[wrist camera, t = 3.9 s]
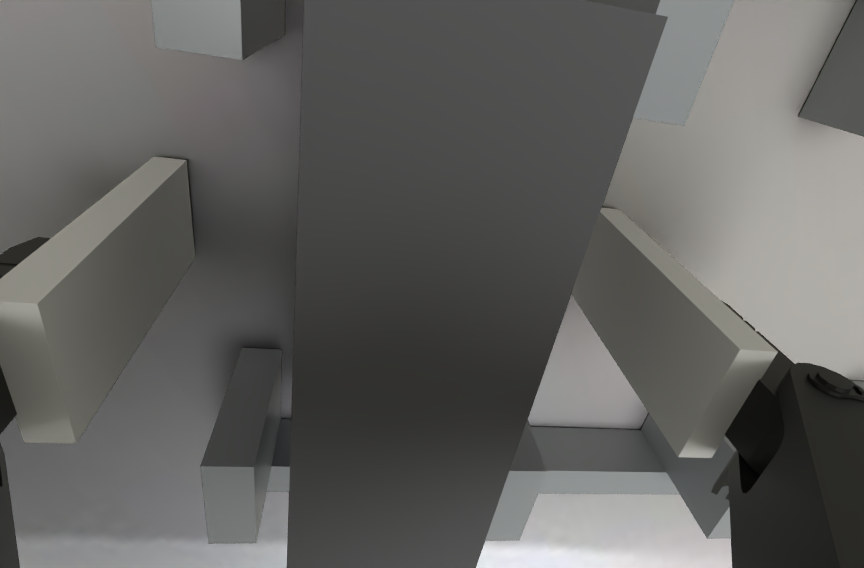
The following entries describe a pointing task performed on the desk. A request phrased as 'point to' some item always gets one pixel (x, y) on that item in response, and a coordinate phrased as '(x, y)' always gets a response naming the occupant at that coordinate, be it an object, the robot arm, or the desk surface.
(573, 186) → the block
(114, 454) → the desk surface
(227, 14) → the grey peg rack
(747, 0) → the desk surface
